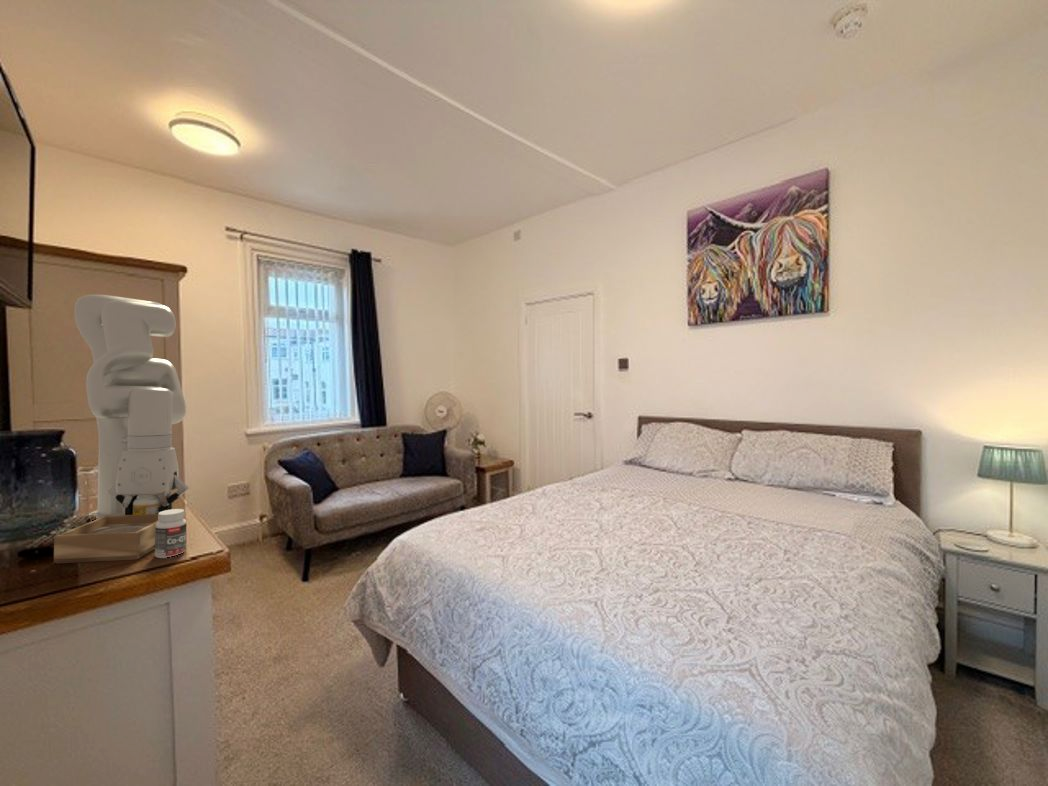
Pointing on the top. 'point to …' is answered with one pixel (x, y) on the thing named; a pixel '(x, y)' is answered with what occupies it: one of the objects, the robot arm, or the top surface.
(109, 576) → the top surface
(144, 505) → the supplement bottle
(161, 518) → the pill bottle
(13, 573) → the top surface
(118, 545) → the oak box
